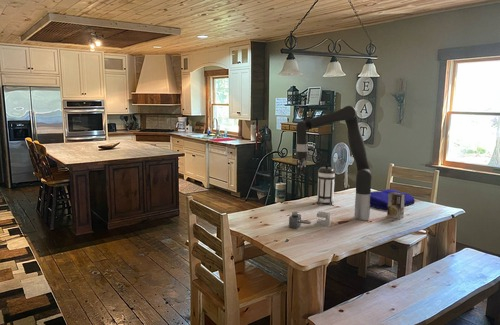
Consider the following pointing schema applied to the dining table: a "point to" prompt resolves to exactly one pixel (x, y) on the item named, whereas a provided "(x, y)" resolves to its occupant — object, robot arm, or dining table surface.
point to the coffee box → (396, 205)
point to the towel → (386, 199)
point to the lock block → (323, 222)
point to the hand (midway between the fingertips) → (301, 173)
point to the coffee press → (326, 185)
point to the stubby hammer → (296, 221)
